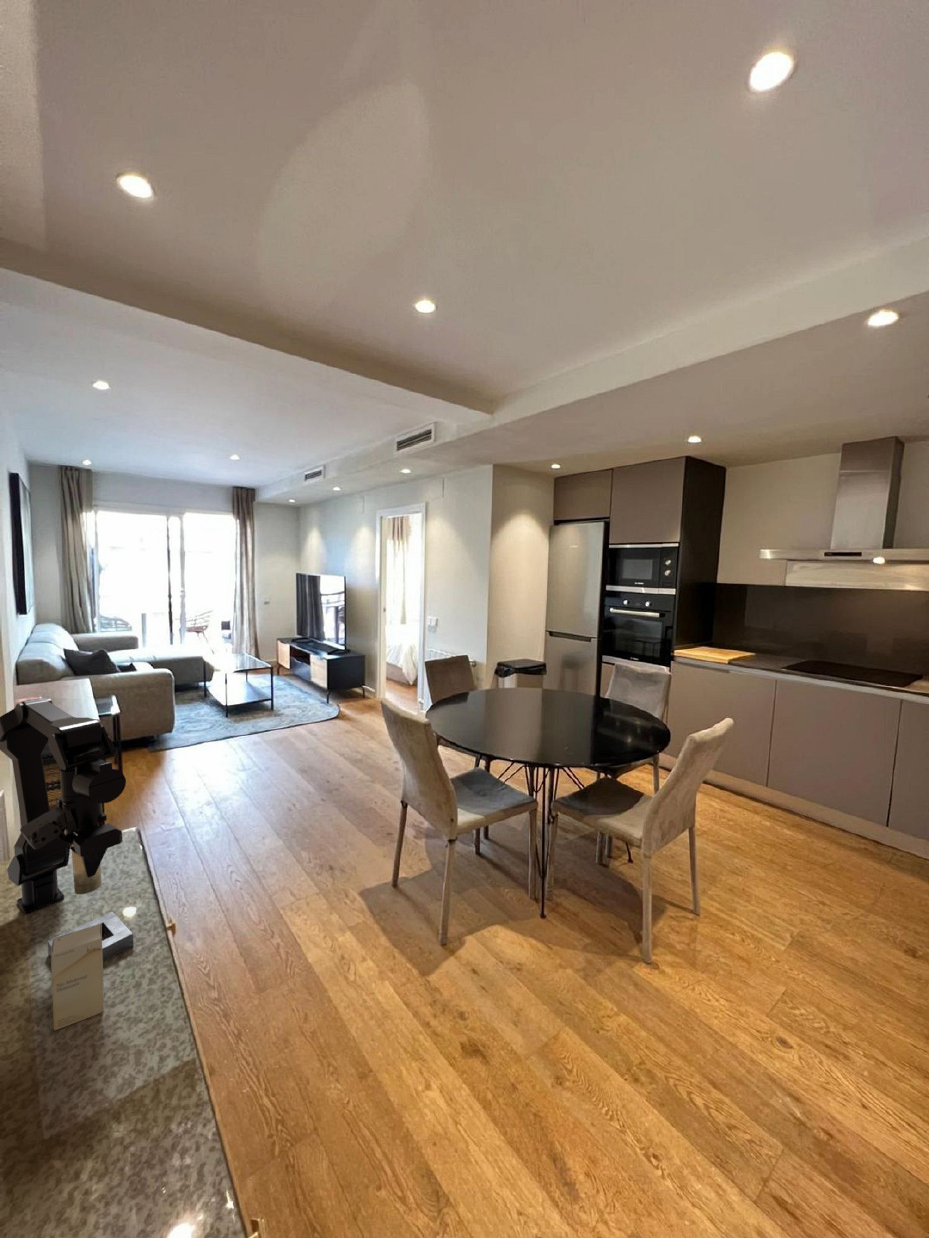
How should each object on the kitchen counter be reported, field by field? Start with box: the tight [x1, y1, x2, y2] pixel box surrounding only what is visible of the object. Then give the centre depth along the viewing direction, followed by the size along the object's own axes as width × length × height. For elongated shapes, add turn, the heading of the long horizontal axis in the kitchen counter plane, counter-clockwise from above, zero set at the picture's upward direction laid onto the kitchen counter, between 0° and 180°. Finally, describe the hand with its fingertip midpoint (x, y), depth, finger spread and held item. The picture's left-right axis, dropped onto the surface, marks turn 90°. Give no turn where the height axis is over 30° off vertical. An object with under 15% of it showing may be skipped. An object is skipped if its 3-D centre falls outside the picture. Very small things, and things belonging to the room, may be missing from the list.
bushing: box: [71, 843, 103, 895], centre depth 92 cm, size 4×4×9 cm
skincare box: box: [50, 924, 105, 1031], centre depth 77 cm, size 6×4×12 cm
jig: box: [47, 911, 134, 963], centre depth 90 cm, size 10×10×2 cm
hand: (87, 872), depth 92 cm, fingers closed on bushing, 4 cm apart
